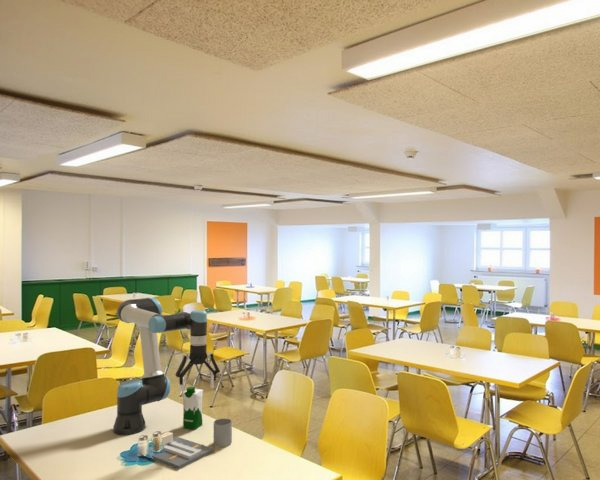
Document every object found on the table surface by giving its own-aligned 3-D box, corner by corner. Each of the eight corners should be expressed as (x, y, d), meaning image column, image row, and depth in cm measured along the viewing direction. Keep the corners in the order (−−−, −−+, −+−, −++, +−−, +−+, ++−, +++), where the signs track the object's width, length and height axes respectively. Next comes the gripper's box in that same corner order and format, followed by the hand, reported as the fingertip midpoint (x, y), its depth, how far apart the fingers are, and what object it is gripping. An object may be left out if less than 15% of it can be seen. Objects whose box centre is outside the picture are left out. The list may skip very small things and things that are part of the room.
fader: (157, 447, 209) (157, 435, 209) (168, 442, 214) (168, 431, 214) (162, 448, 207) (162, 437, 207) (173, 443, 212) (173, 432, 212)
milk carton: (180, 428, 235) (180, 388, 235) (190, 422, 243) (190, 383, 244) (195, 430, 232) (195, 390, 232) (205, 424, 240) (205, 385, 241)
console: (141, 455, 204) (141, 449, 204) (176, 439, 221) (176, 434, 221) (178, 469, 191) (178, 462, 191) (213, 451, 208) (213, 445, 208)
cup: (227, 447, 212) (227, 425, 212) (210, 446, 213) (210, 424, 214) (234, 440, 220) (234, 419, 220) (217, 439, 222) (217, 417, 222)
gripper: (172, 348, 209) (171, 395, 209) (226, 343, 220) (226, 388, 220) (169, 344, 216) (168, 390, 216) (222, 340, 227) (221, 384, 227)
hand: (197, 389), depth 218 cm, fingers open, 13 cm apart
